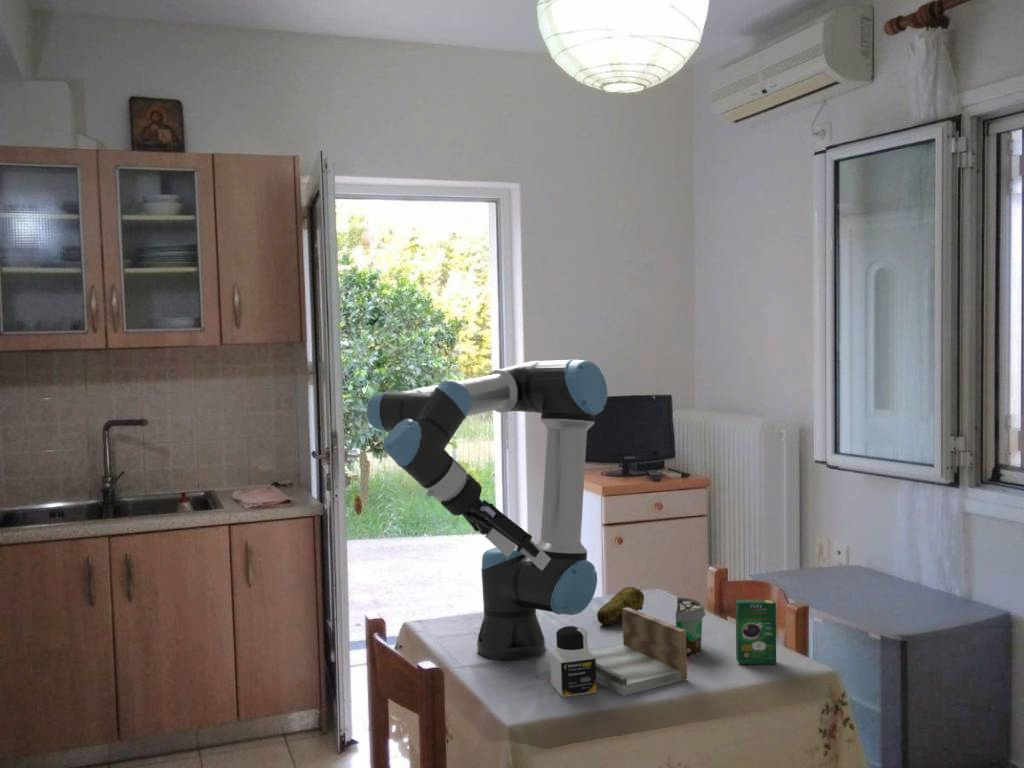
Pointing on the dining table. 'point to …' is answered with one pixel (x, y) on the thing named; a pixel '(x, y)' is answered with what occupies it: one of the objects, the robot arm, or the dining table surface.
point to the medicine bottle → (572, 663)
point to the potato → (620, 605)
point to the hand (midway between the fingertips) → (528, 557)
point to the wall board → (643, 655)
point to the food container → (690, 622)
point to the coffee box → (756, 631)
